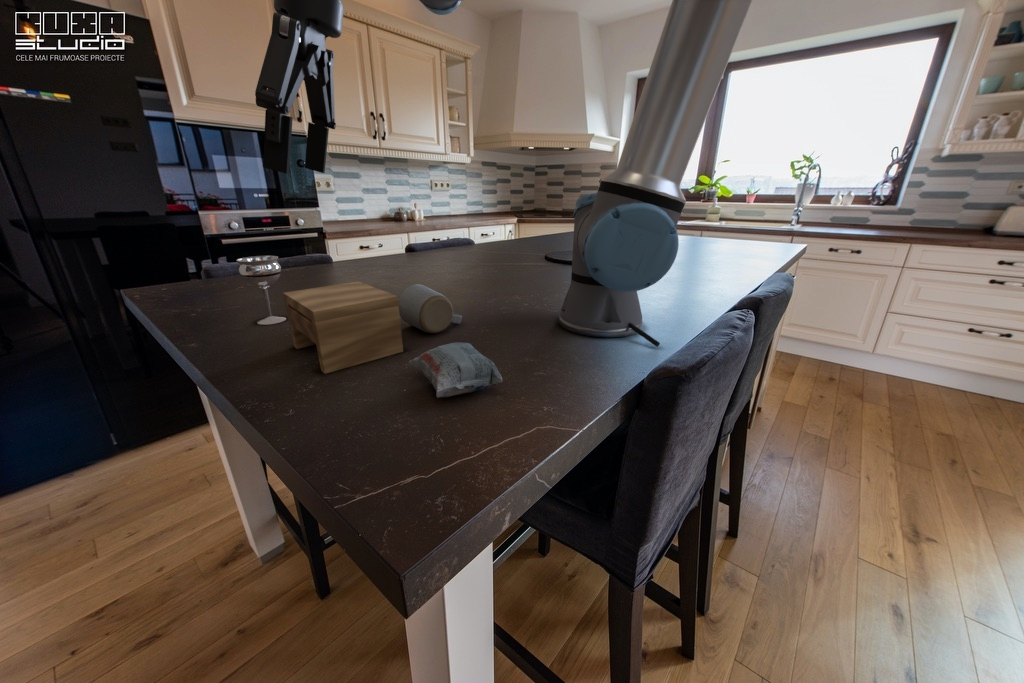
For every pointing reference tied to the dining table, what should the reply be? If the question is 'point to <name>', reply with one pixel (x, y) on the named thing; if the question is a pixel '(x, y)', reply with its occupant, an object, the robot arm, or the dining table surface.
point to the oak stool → (345, 323)
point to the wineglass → (261, 278)
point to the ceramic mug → (426, 309)
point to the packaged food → (457, 369)
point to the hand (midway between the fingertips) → (297, 170)
